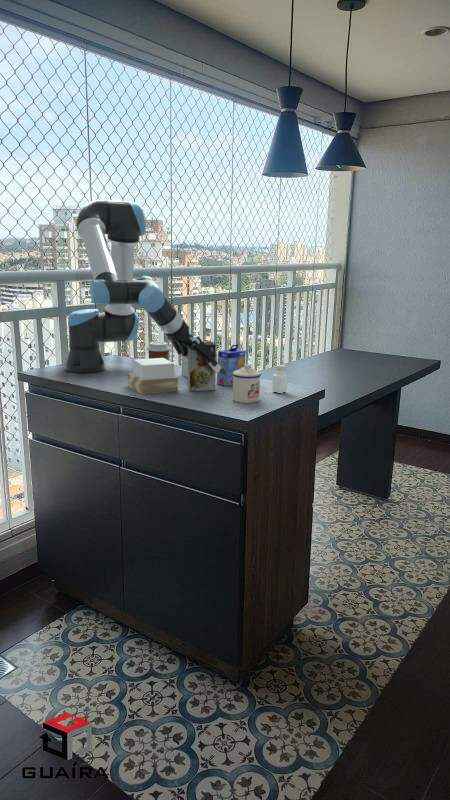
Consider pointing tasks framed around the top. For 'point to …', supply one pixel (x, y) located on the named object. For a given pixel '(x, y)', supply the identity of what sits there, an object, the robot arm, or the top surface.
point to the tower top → (153, 368)
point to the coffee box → (200, 370)
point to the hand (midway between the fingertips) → (207, 367)
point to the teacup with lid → (246, 385)
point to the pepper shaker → (279, 380)
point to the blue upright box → (229, 364)
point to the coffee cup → (158, 350)
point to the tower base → (152, 384)
